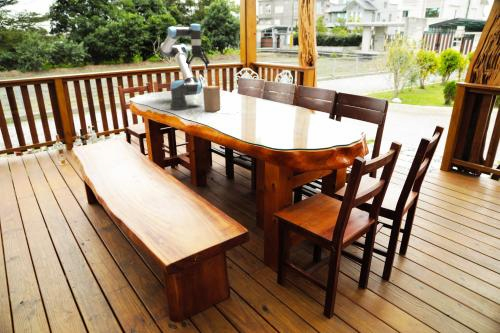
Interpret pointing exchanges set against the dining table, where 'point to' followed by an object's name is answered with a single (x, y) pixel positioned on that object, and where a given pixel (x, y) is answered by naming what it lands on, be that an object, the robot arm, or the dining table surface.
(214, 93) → the wooden block
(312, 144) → the dining table surface
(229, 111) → the mat
